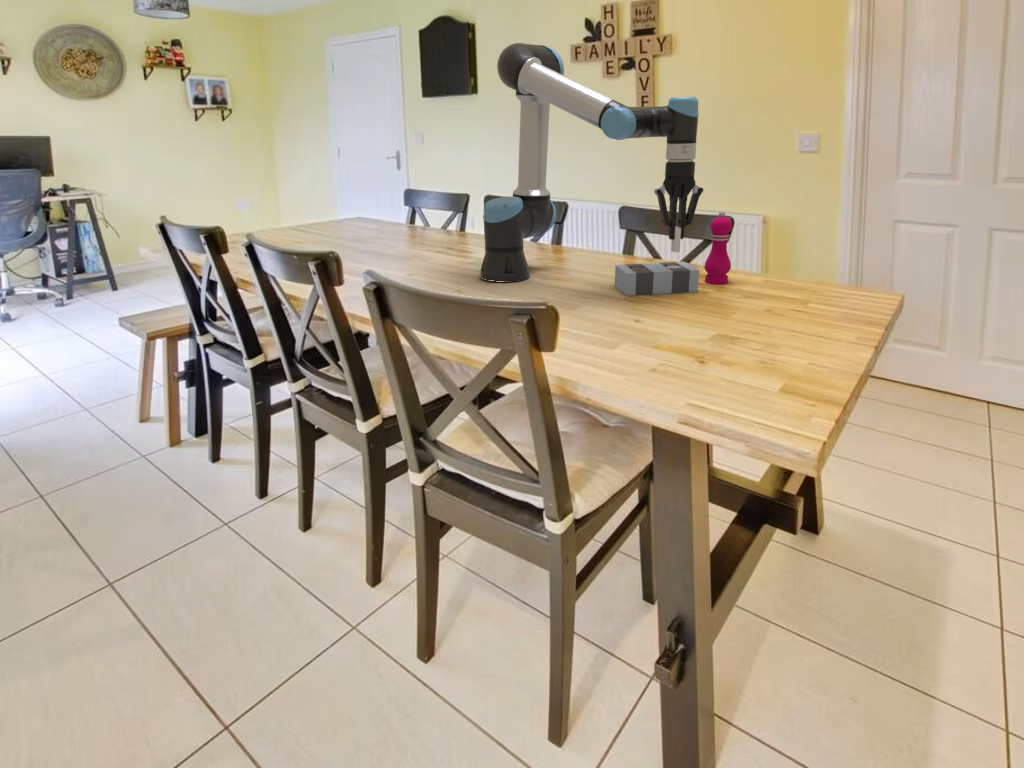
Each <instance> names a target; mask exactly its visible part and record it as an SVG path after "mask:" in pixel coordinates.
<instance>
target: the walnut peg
mask: <svg viewBox="0 0 1024 768" xmlns="http://www.w3.org/2000/svg"><path fill="white" fill-rule="evenodd" d="M631 270H646V268H644V267H633V268H631Z"/></svg>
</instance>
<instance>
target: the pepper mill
mask: <svg viewBox="0 0 1024 768" xmlns="http://www.w3.org/2000/svg"><path fill="white" fill-rule="evenodd" d="M732 229H733V222H732V220H731V219H730V218H729V217H728V216H726V211H725V210H720V211H718V216H717V217H714V218H713V219H712V220H711V222H710V223H709V230H710V231H711V234H710V240H711V249H710V252H709V255H708V256H707V258H706V260H705V263H704V270H705V271H706V273H707V274H706V275H705V278H704V281H705V283H707V284H712V285H722V284H727V283H728V281H729V276H728V275H727V274H728V273H729V272H730V270H731V267H732V265H731V264H732V263H731V259H730V256H729V254H728V250H727V249H728V247H727V246H728V241H729V240H730V234H729V233H730V232H731V231H732Z"/></svg>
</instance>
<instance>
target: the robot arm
mask: <svg viewBox="0 0 1024 768" xmlns="http://www.w3.org/2000/svg"><path fill="white" fill-rule="evenodd" d="M496 65H497V66H496V68H497V75H498V76H499V79H500V81H501V82H502V83H503V84H504V85H505V86H506V87H507V88H510V89H512V90H514V91H515V97H516V99H518V101H519V102H520V103H519V104H520V108H519V109H520V112H519V115H520V116H519V117H520V118H519V139H518V141H519V143H518V173H517V174H518V176H517V177H518V178H517V187H516V188H515V189H514V190H513V192H512V196H502V197H497V198H492V199H490V200H487V202H485V204H484V205H483V214H482V216H483V217H482V218H483V232H484V250H485V251H484V256H483V260H482V263H481V268H480V270H479V272H480V273H479V274H480V279H481V278H483V279H486V280H494V281H516V282H518V281H517V280H522V281H524V280H523V279H525V280H528V279H529V278H530V277H531V274H530V272H531V271H530V267H529V264H528V261H527V258H526V254H525V253H524V239H525V240H526V239H528V238H532V237H539V236H541V235H543V234H546V233H547V232H548V231H550V230H551V229H552V228H553V226H554V224H555V222H556V218H557V209H556V206H555V204H553V203H554V202H553V200H552V199H551V192H550V191H549V189H547V186H546V185H547V169H548V168H547V166H548V147H549V146H548V145H549V131H550V130H549V129H550V128H549V127H550V109H551V108H550V107H551V106H550V105H553V106H555V107H557V108H559V109H561V110H562V111H565V112H566V113H568V114H570V115H573V117H577V118H579V119H580V120H582V121H584V122H587V123H588V124H590V125H592V126H594V127H596V128H598V129H600V130H602V132H603V134H604V135H605V136H606V138H609V139H612V140H617V141H622V140H627V139H641V138H642V139H643V138H644V139H645V138H666V150H665V152H666V153H665V160H666V162H665V171H664V180H663V182H662V186H660V187H659V188H654V191H653V192H654V194H655V195H656V197H657V202H658V206H659V212H660V218H661V222H662V225H665V226H667V227H668V239H669V240H671V247H670V249H671V250H670V251H671V252H673V253H680V252H681V251H680V250H681V240H684V238H685V228H686V227H687V226H688V225H691V224H692V223H693V219H694V216H695V213H696V209H697V206H698V203H699V199H700V196H701V195H702V193H703V192H704V188H703V187H700V186H699V185H697V184H696V180H695V169H696V168H695V167H696V162H695V161H694V160H695V159H696V157H697V156H696V154H697V153H696V152H697V135H698V124H699V116H700V114H699V99H698V98H697V97H696V96H675V97H670V98H669V100H668V103H667V105H664V106H627V105H625V104H623V103H622V102H619V101H616V100H615V99H613V98H611V97H609V96H607V95H605V94H602V93H601V92H598V91H596V90H594V89H593V88H591V87H588V86H586V85H584V84H582V83H580V82H578V81H576V80H574V79H572V78H570V77H567V76H566V75H564V74H565V65H564V62H563V59H562V57H561V56H560V54H559V53H558V51H557V50H556V49H554V48H552V47H550V46H546V45H542V44H532V43H531V44H529V43H523V42H516V43H511V44H509V45H508V46H506V47H504V49H503V50H502V51H501V53H500V55H499V56H498V59H497V63H496ZM691 192H692V194H691V197H690V200H689V204H688V208H687V203H688V202H687V201H688V196H689V195H690V193H691ZM666 193H667V194H668V196H669V210H668V208H667V207H668V206H667V201H666V198H665V197H666V196H665V194H666ZM677 209H678V212H677ZM677 213H678V214H677ZM677 215H678V216H677ZM677 225H678V226H677ZM527 278H528V279H527Z"/></svg>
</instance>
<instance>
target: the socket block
mask: <svg viewBox="0 0 1024 768" xmlns="http://www.w3.org/2000/svg"><path fill="white" fill-rule="evenodd" d="M670 265H677V266H681V268H672V269H668V268H667V266H670ZM614 267H615V268H614V286H615V287H616V288H617V290H619V291H620V292H621V293H622V294H623V295H624V296H625V297H626V296H628V297H629V296H643V295H646V296H647V295H649V296H650V295H664V294H667V295H668V294H684V293H699V283H700V282H699V281H700V280H699V279H700V269H698V268H697V267H695V266H693V265H691V264H690V263H687V262H685V261H670V262H668V261H667V262H652V263H651V262H650V263H649V262H647V263H646V262H645V263H631V264H630V263H629V264H628V263H627V264H626V263H625V264H624V263H623V264H615V266H614ZM633 267H644V268H646V270H631V268H633Z"/></svg>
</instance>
